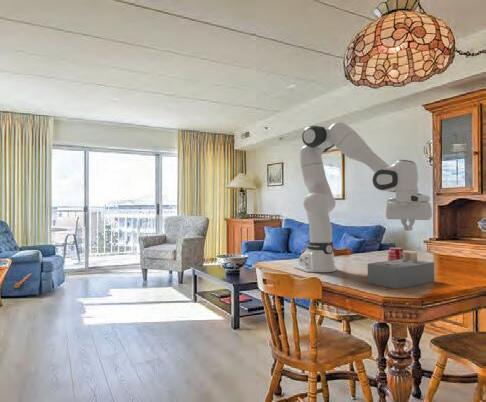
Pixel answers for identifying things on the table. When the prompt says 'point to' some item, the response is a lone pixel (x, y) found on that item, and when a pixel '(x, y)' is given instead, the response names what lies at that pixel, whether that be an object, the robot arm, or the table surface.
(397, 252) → the soda can
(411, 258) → the peg
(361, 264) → the table surface
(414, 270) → the block
